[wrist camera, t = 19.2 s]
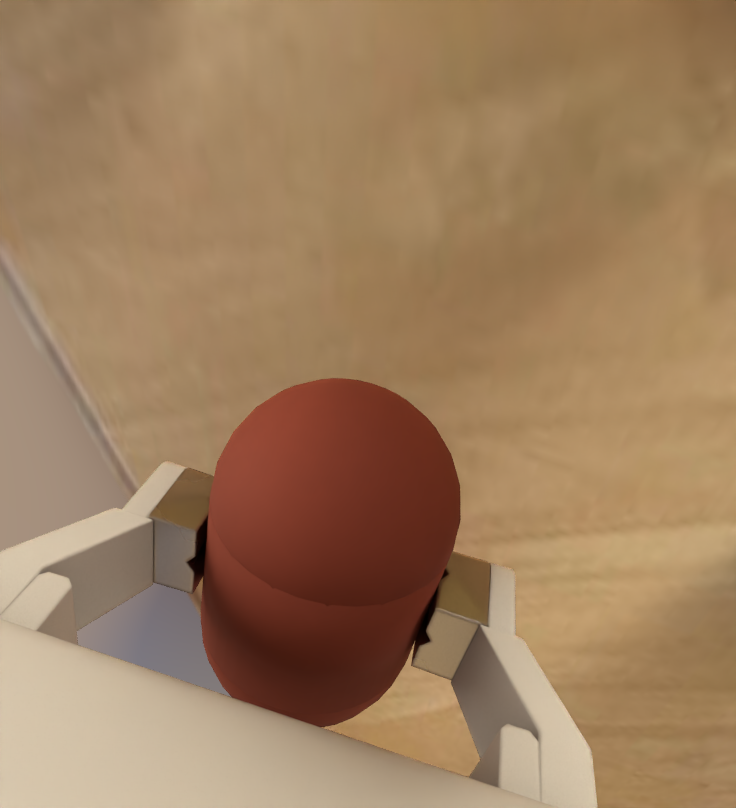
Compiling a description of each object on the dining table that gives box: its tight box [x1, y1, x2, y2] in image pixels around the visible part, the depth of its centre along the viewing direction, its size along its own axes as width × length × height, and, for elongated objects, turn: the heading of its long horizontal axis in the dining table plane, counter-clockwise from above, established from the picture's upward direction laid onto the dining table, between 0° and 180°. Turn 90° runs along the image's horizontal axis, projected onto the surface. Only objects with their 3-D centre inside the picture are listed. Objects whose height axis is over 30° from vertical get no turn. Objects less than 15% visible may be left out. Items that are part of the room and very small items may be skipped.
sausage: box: [201, 378, 460, 727], centre depth 12 cm, size 8×5×5 cm, turn 168°
